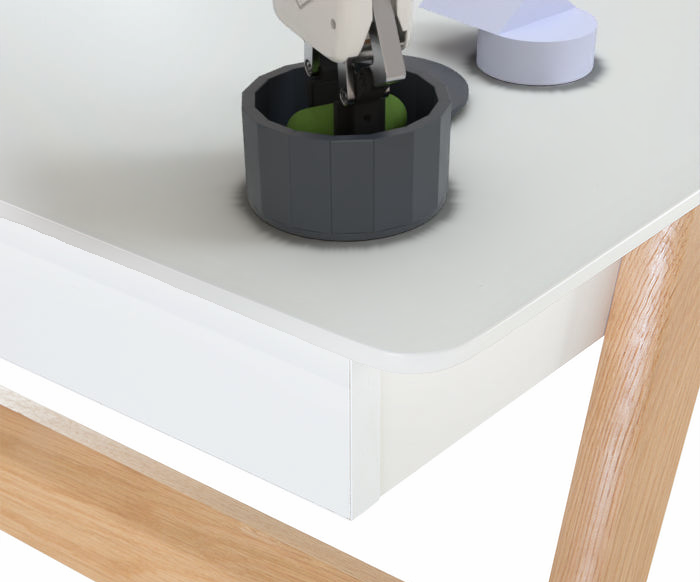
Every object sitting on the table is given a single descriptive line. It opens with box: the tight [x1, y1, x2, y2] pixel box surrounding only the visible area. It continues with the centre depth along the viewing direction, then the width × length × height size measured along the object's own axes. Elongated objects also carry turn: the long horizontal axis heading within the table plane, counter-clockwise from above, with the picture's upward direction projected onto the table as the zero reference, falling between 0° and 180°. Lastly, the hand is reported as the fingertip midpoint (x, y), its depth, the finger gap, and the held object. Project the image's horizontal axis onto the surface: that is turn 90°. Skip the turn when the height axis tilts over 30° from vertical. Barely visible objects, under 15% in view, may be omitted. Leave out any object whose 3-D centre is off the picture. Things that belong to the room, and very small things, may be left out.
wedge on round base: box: [418, 0, 598, 86], centre depth 95 cm, size 9×7×13 cm
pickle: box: [286, 94, 407, 136], centre depth 76 cm, size 8×3×3 cm, turn 116°
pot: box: [240, 60, 452, 242], centre depth 77 cm, size 13×13×6 cm
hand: (346, 144), depth 77 cm, fingers closed on pickle, 3 cm apart
